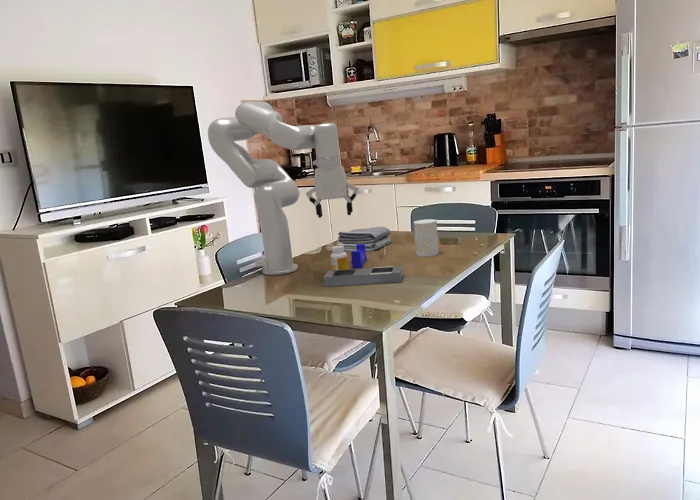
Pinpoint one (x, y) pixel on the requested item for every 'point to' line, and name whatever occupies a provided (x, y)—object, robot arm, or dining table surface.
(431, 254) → the cup
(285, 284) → the dining table surface
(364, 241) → the towel
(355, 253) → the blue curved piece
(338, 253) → the supplement bottle
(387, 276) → the metal bottle holder tray
